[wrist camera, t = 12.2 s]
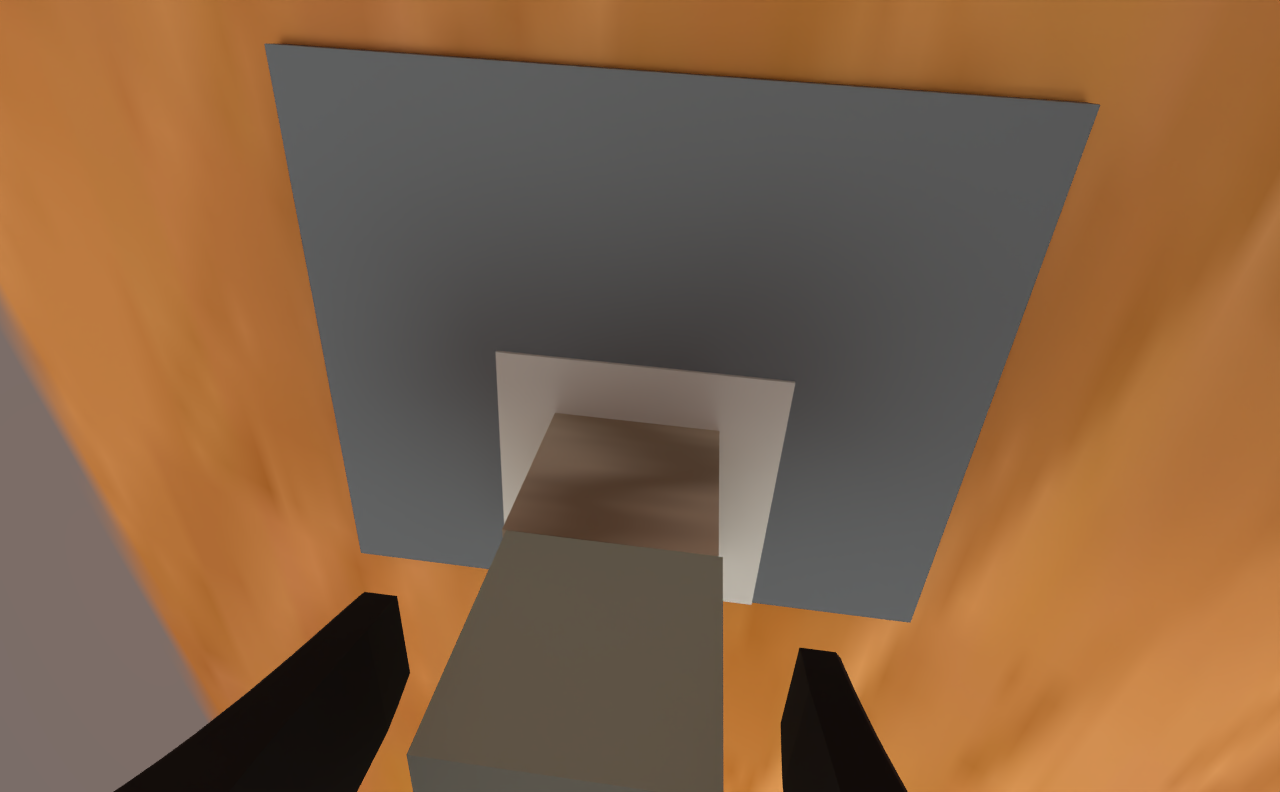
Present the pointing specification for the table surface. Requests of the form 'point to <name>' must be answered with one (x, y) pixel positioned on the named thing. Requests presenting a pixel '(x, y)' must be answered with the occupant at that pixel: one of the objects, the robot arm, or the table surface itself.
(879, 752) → the robot arm
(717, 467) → the walnut block
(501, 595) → the sage block
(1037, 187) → the board
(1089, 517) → the table surface
